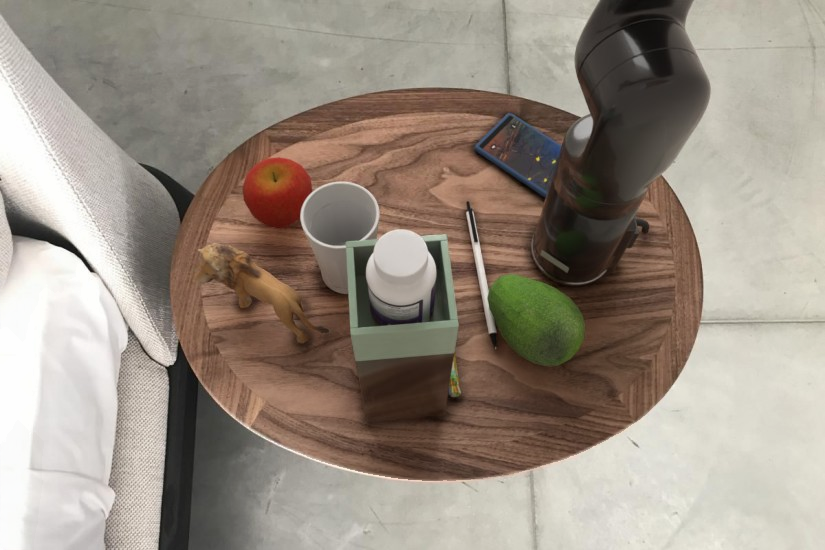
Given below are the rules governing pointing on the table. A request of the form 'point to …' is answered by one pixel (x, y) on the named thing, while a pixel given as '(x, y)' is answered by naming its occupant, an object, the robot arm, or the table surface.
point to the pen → (481, 274)
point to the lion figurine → (253, 285)
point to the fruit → (536, 319)
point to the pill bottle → (401, 279)
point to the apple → (276, 191)
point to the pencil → (454, 381)
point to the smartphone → (521, 152)
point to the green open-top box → (403, 343)
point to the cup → (338, 226)
